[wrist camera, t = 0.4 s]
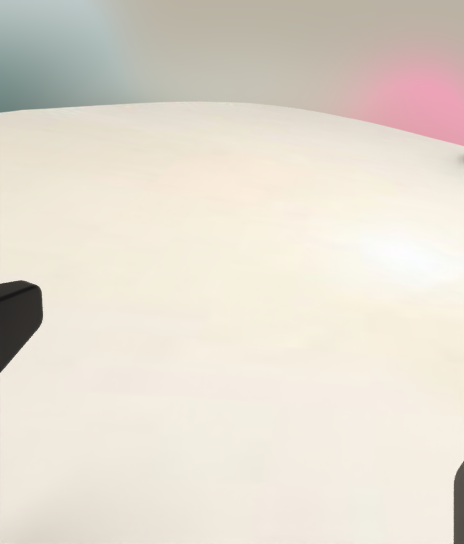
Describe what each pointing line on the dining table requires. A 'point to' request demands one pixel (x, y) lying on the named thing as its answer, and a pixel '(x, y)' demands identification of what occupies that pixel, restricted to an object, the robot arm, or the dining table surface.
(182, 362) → the dining table surface
